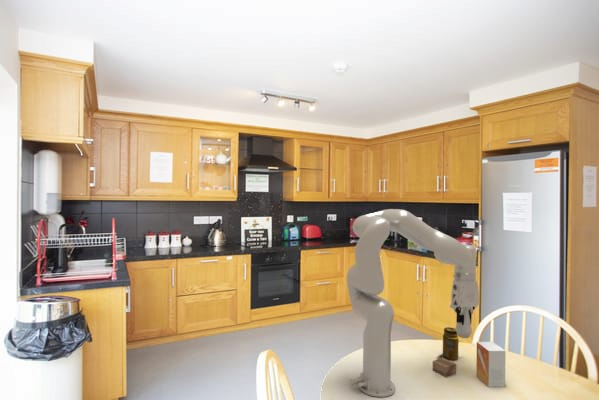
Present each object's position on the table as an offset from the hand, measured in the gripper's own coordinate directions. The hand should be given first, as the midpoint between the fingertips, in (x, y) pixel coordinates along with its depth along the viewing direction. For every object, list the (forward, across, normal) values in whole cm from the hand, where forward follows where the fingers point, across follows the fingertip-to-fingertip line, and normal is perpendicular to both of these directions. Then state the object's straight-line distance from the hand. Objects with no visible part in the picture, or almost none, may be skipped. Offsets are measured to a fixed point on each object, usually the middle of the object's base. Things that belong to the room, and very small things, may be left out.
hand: (463, 323), depth 135 cm
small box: (+18, +3, -10) cm, 21 cm away
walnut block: (+19, -8, +1) cm, 20 cm away
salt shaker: (+5, 0, 0) cm, 5 cm away
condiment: (+18, +3, +10) cm, 21 cm away
